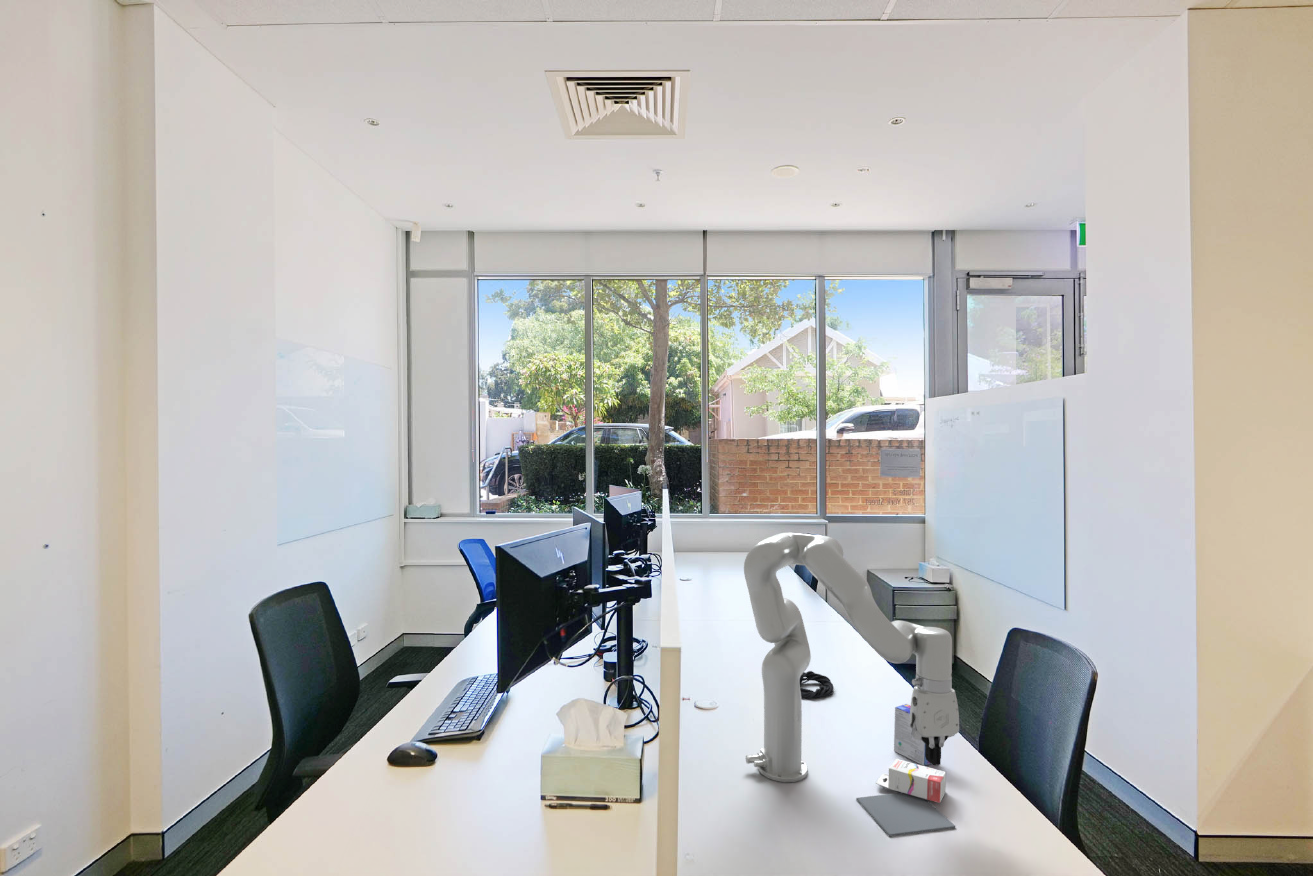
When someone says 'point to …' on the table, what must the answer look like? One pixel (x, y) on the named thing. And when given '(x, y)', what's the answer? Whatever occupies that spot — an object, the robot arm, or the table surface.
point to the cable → (823, 690)
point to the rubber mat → (904, 814)
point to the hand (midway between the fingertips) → (933, 762)
